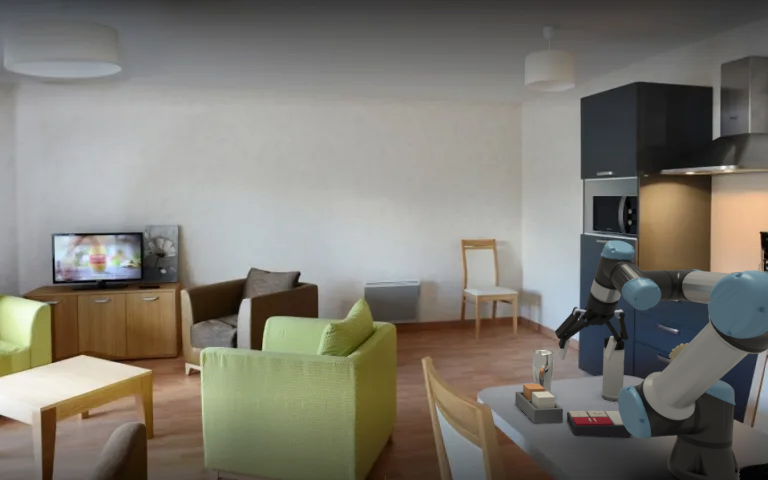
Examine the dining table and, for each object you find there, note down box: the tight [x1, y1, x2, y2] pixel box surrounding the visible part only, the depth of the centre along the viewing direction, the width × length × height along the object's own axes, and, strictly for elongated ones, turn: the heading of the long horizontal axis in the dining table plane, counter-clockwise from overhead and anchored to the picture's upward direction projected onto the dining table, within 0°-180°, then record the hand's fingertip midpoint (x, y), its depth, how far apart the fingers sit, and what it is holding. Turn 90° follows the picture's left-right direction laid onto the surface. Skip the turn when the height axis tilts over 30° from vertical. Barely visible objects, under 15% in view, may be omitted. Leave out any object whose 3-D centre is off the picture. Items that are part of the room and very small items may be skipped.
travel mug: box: [601, 337, 626, 402], centre depth 196 cm, size 6×7×20 cm
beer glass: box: [531, 349, 555, 395], centre depth 197 cm, size 7×7×15 cm
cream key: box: [532, 391, 556, 409], centre depth 179 cm, size 5×5×4 cm
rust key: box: [522, 383, 545, 400], centre depth 187 cm, size 5×5×4 cm
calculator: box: [566, 410, 632, 439], centre depth 171 cm, size 11×4×15 cm
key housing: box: [514, 391, 564, 424], centre depth 183 cm, size 16×9×4 cm, turn 7°
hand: (584, 357), depth 171 cm, fingers open, 13 cm apart
